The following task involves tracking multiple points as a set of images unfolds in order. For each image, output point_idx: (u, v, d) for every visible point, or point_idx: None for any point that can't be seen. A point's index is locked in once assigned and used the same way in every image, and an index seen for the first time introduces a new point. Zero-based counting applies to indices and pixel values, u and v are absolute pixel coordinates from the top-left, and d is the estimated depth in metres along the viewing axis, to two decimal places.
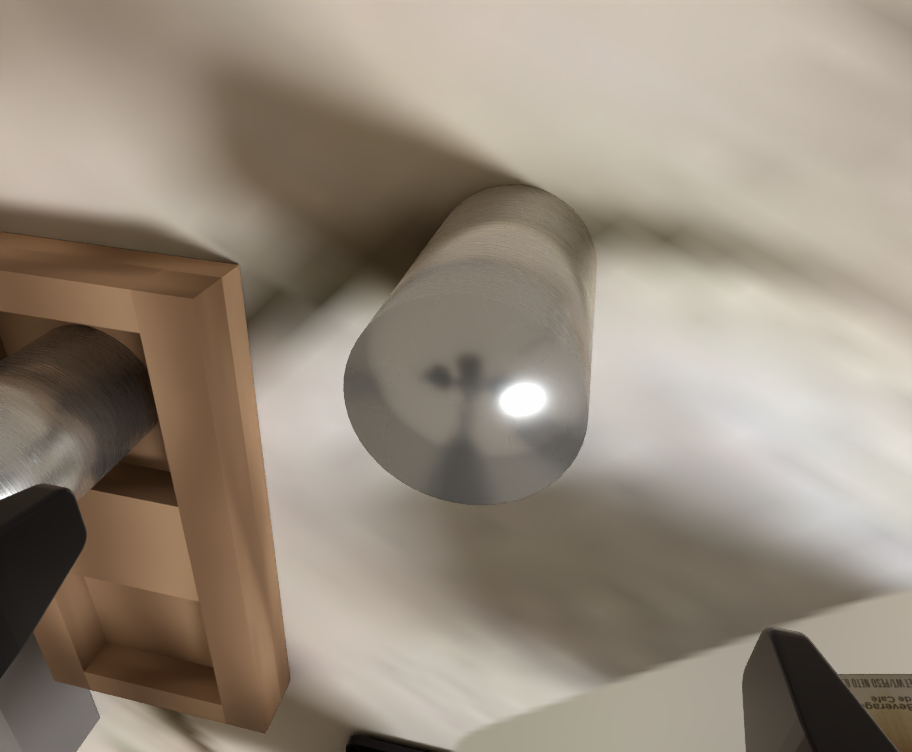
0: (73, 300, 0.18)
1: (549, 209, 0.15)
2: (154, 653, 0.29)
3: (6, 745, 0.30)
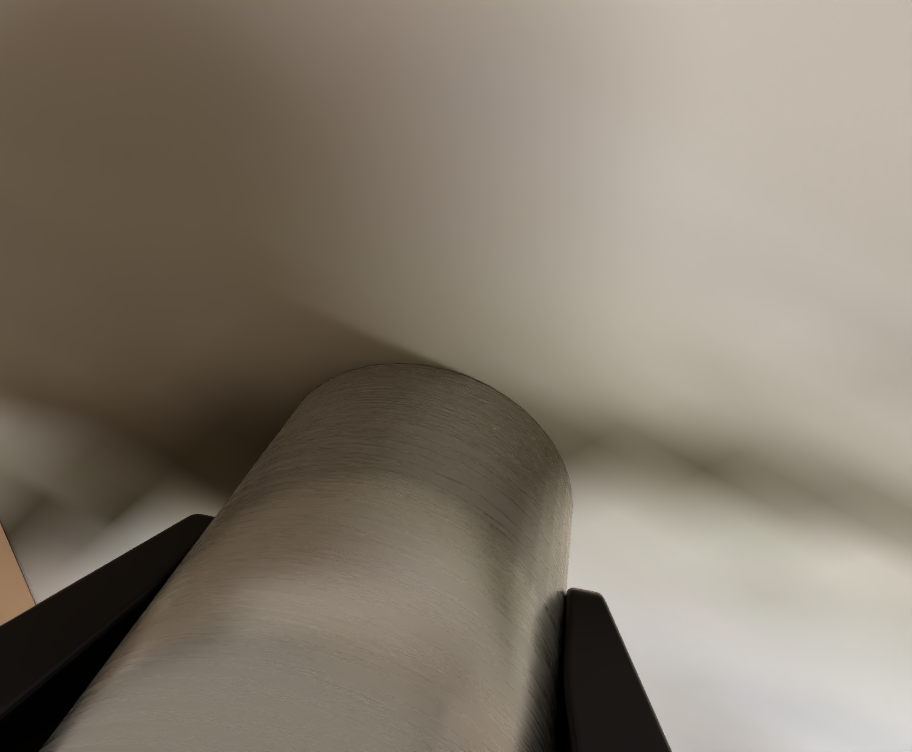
0: None
1: (468, 442, 0.07)
2: None
3: None
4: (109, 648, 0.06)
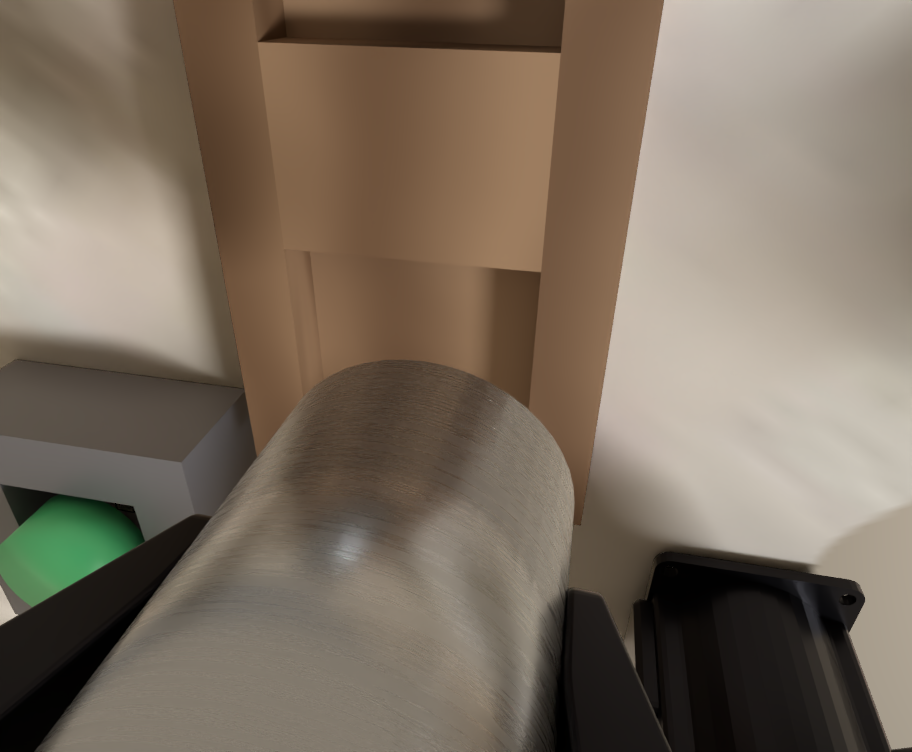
0: None
1: (469, 438, 0.07)
2: None
3: None
4: (109, 648, 0.06)
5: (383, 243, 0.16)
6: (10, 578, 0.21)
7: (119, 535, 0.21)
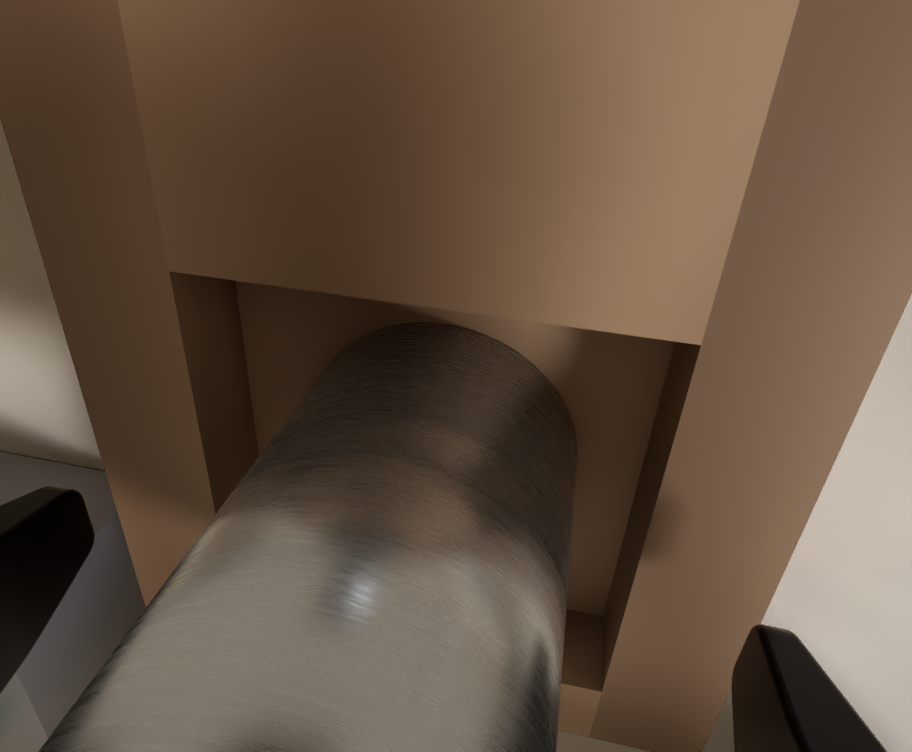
0: None
1: (486, 386, 0.08)
2: None
3: None
4: None
5: (368, 269, 0.08)
6: None
7: None
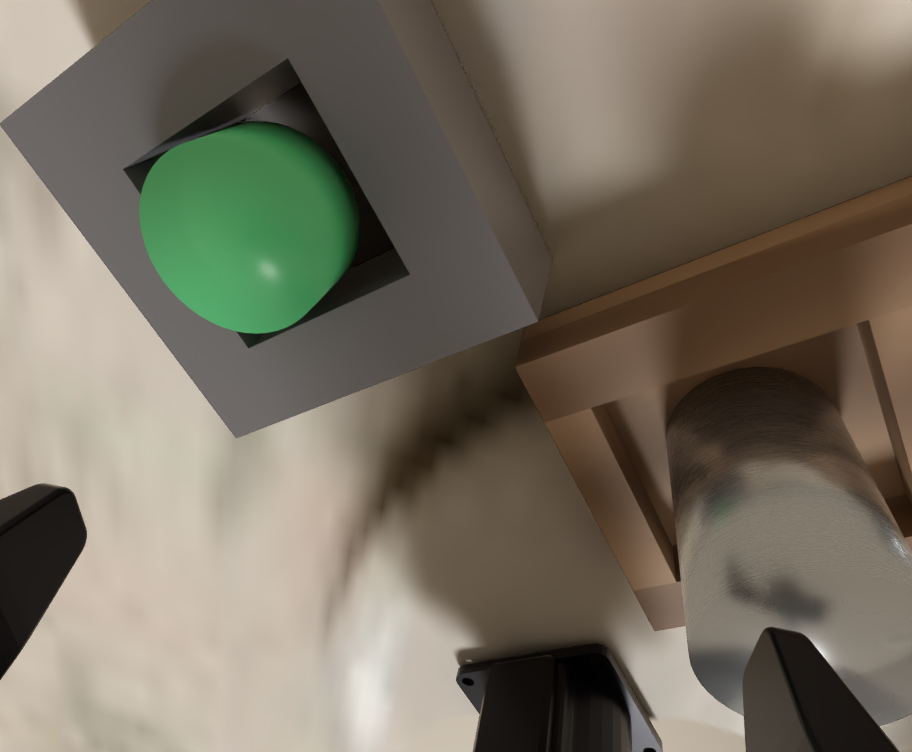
0: None
1: None
2: (625, 445, 0.19)
3: (338, 367, 0.16)
4: None
5: None
6: (174, 170, 0.12)
7: (343, 269, 0.14)
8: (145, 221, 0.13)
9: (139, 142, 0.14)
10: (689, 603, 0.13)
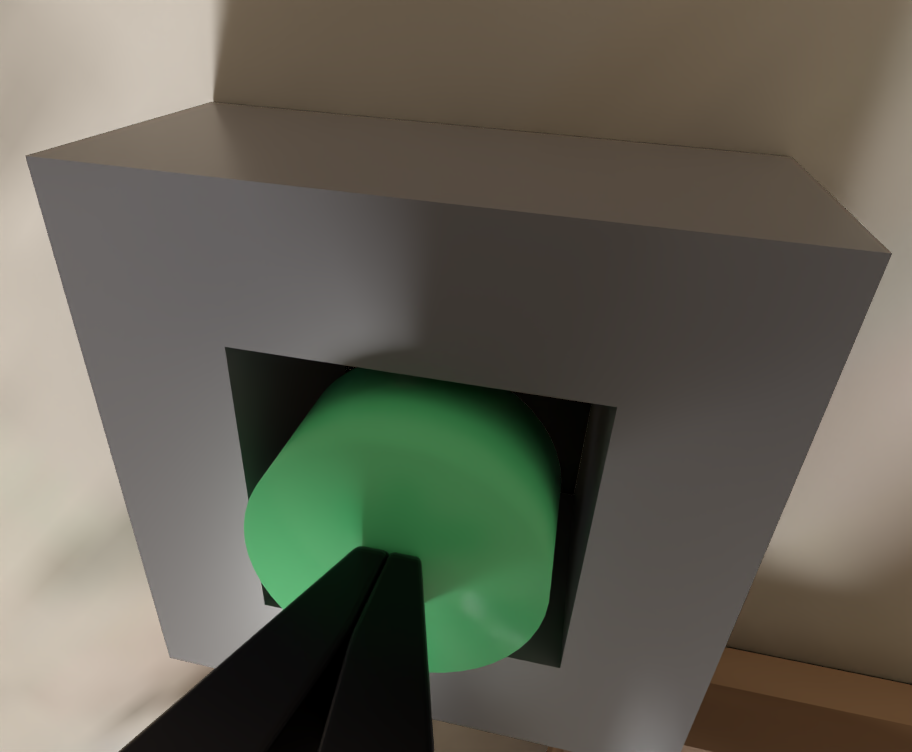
0: None
1: None
2: None
3: None
4: (315, 697, 0.06)
5: None
6: (377, 466, 0.07)
7: None
8: (274, 478, 0.08)
9: (282, 338, 0.08)
10: None
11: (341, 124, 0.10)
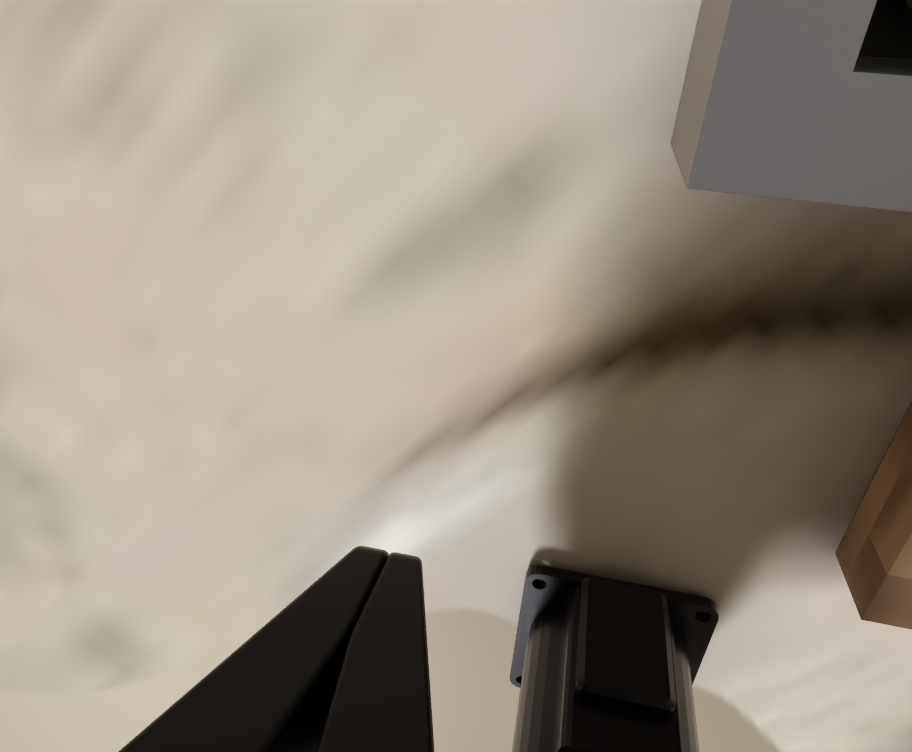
0: None
1: None
2: None
3: None
4: (315, 697, 0.06)
5: None
6: None
7: None
8: None
9: None
10: None
11: None
